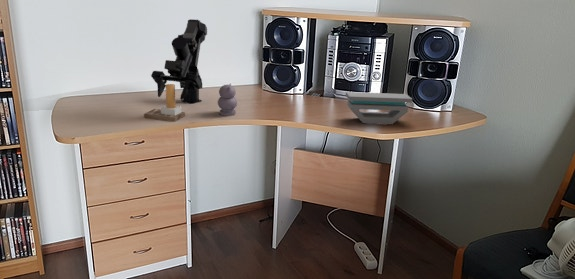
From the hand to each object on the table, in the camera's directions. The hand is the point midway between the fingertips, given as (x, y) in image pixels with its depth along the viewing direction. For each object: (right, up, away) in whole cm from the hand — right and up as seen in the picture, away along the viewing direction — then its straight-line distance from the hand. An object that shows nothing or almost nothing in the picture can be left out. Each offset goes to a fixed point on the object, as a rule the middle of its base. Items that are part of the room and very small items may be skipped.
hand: (169, 98), depth 166 cm
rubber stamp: (0, -6, +3) cm, 6 cm away
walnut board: (-3, -7, +3) cm, 8 cm away
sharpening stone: (+81, -9, +12) cm, 82 cm away
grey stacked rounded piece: (+20, -6, +11) cm, 24 cm away
